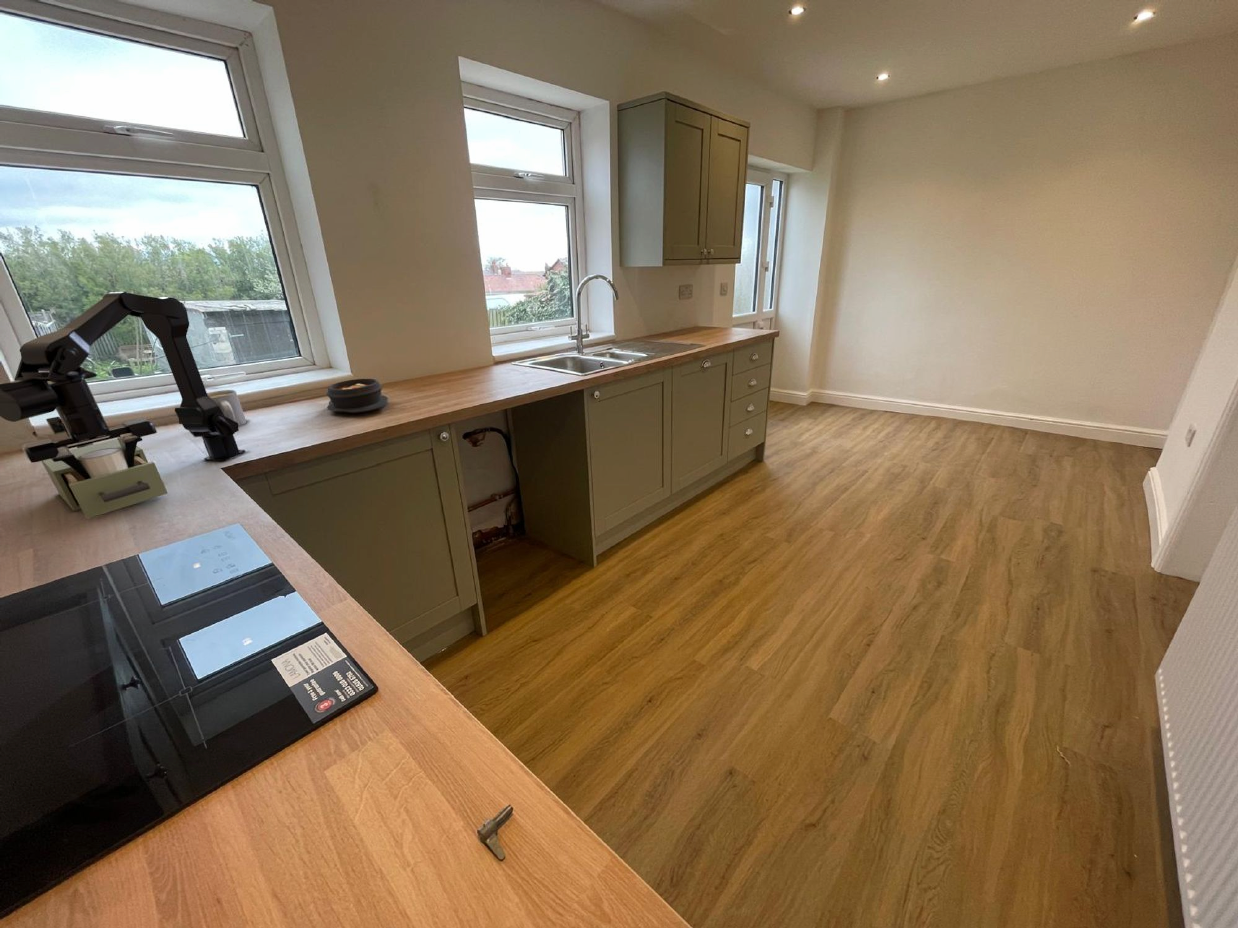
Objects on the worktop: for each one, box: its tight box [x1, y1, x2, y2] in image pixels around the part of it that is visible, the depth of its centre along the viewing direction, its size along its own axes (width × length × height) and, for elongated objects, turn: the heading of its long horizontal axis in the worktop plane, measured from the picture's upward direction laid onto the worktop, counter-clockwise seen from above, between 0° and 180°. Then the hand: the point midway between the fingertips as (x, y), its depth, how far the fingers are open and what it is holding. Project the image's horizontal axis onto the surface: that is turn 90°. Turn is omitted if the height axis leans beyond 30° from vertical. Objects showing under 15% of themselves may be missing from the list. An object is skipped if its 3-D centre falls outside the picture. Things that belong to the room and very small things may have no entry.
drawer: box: [62, 455, 169, 519], centre depth 105 cm, size 19×13×7 cm
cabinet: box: [41, 438, 149, 512], centre depth 112 cm, size 16×14×9 cm
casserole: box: [325, 378, 389, 414], centre depth 166 cm, size 25×19×8 cm
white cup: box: [77, 447, 129, 478], centre depth 104 cm, size 7×7×7 cm
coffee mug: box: [207, 389, 247, 427], centre depth 154 cm, size 13×10×10 cm
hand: (111, 476), depth 105 cm, fingers closed on white cup, 6 cm apart
